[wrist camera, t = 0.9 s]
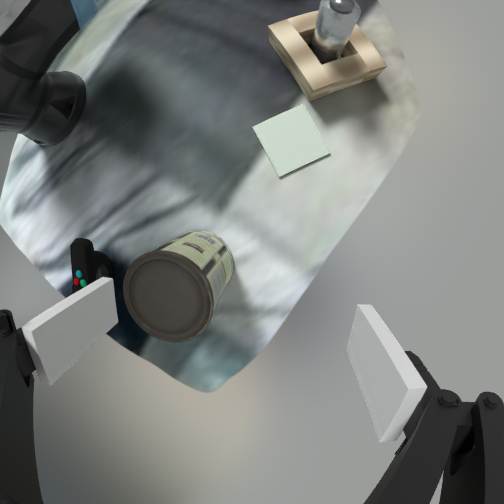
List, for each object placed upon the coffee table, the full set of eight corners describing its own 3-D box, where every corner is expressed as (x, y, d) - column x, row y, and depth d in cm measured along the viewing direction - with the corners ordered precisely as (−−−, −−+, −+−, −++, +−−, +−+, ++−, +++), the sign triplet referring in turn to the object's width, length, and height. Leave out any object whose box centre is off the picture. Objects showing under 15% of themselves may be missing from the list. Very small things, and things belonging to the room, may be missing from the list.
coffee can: (173, 295, 42) (132, 339, 28) (165, 231, 40) (115, 252, 26) (236, 296, 41) (217, 345, 27) (232, 228, 39) (207, 250, 25)
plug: (303, 51, 32) (313, -8, 17) (328, 43, 31) (347, -14, 16) (318, 72, 32) (337, 18, 18) (343, 64, 31) (371, 12, 17)
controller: (100, 297, 44) (68, 319, 34) (96, 230, 41) (57, 241, 31) (119, 301, 43) (87, 325, 34) (115, 232, 41) (77, 244, 31)
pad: (252, 127, 35) (252, 127, 35) (303, 104, 34) (303, 103, 33) (279, 177, 36) (279, 176, 36) (329, 153, 35) (330, 152, 35)
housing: (269, 42, 32) (267, 25, 27) (334, 21, 29) (340, 5, 25) (309, 102, 34) (313, 90, 29) (375, 78, 31) (387, 66, 26)
